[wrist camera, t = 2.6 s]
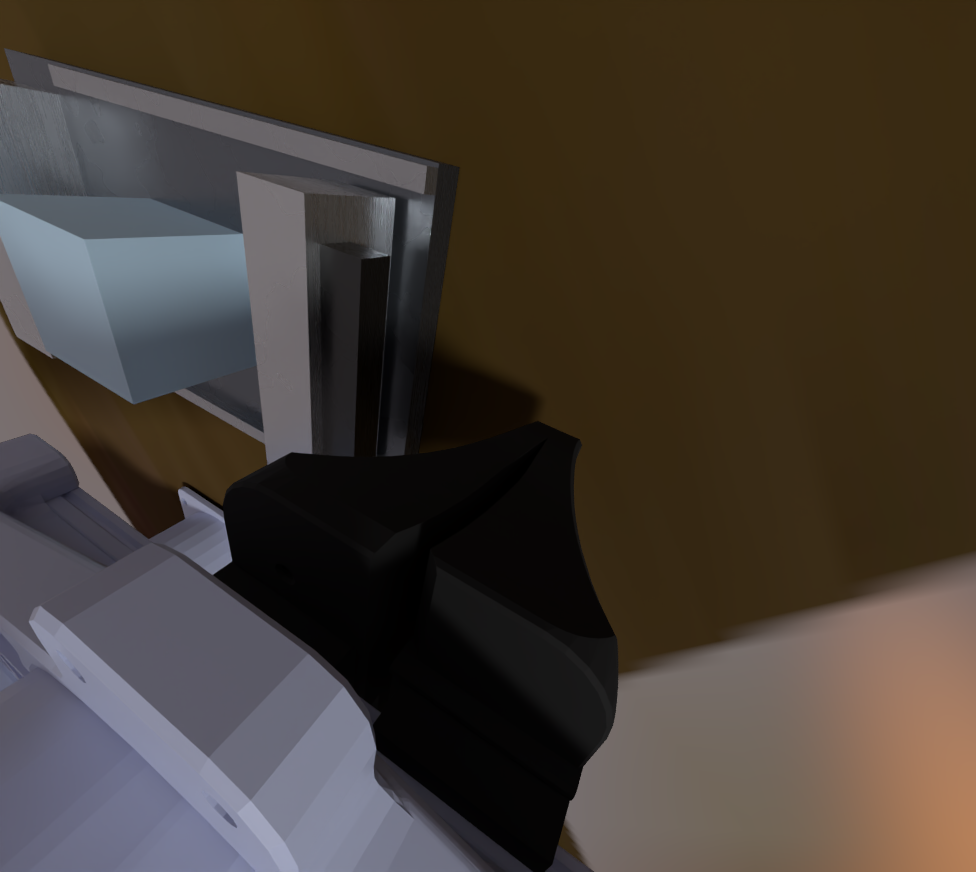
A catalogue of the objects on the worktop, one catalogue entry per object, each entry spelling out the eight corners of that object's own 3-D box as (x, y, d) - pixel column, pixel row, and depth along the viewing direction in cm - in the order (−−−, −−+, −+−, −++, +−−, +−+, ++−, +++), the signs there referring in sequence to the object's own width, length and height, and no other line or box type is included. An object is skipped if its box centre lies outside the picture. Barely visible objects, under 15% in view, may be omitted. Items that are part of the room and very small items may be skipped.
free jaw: (398, 498, 16) (342, 547, 14) (335, 463, 17) (271, 503, 15) (433, 210, 11) (349, 207, 8) (337, 180, 12) (236, 170, 9)
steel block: (257, 365, 17) (133, 404, 14) (176, 325, 19) (46, 350, 15) (242, 233, 14) (84, 239, 11) (150, 198, 16) (-17, 193, 12)
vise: (412, 497, 18) (343, 558, 15) (119, 337, 23) (24, 355, 20) (459, 167, 11) (353, 147, 8) (37, 56, 17) (-121, 19, 14)
